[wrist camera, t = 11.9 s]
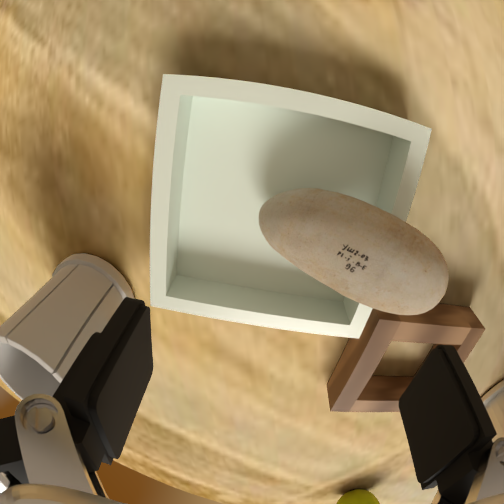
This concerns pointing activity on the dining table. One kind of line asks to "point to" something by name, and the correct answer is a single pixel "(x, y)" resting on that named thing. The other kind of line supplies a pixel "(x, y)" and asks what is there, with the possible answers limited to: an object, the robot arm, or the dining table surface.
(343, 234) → the stone
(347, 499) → the fruit
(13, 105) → the dining table surface
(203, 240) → the tray
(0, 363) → the cup
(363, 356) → the pocket frame
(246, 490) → the dining table surface
